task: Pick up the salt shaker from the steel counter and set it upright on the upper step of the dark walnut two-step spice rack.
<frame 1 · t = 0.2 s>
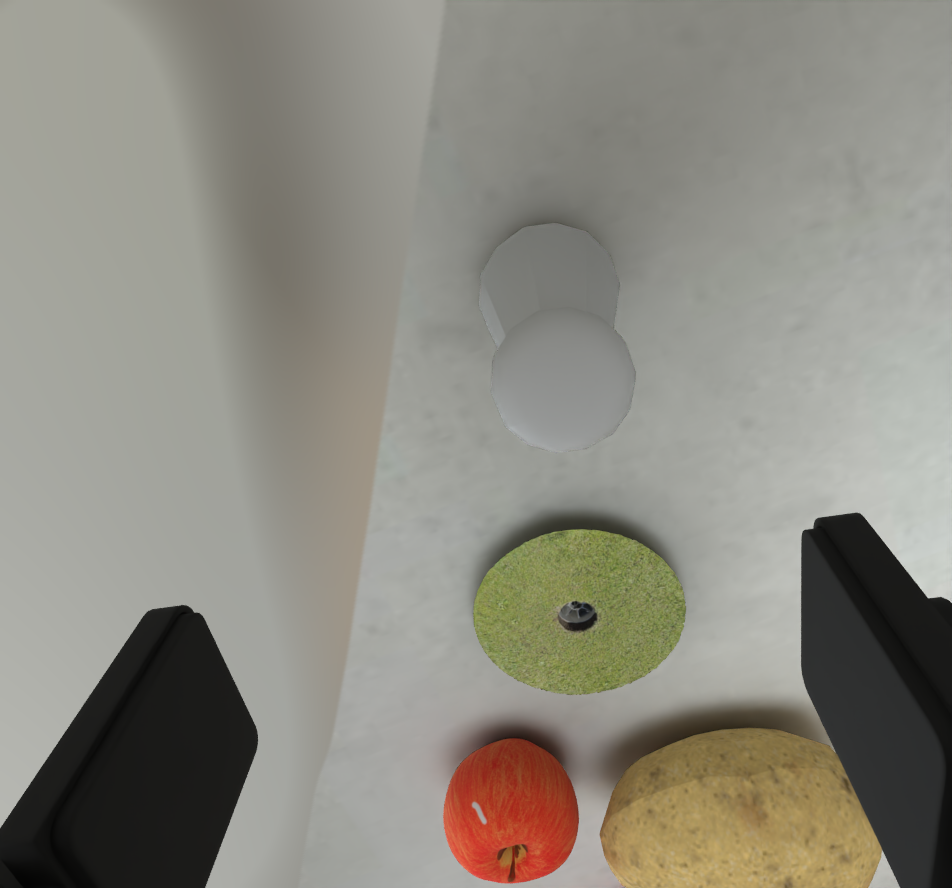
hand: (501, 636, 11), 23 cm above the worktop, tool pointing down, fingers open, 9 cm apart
apple: (511, 756, 47), on the worktop
mat: (575, 592, 40), on the worktop
potato: (713, 746, 45), on the worktop
salt shaker: (545, 278, 32), on the worktop
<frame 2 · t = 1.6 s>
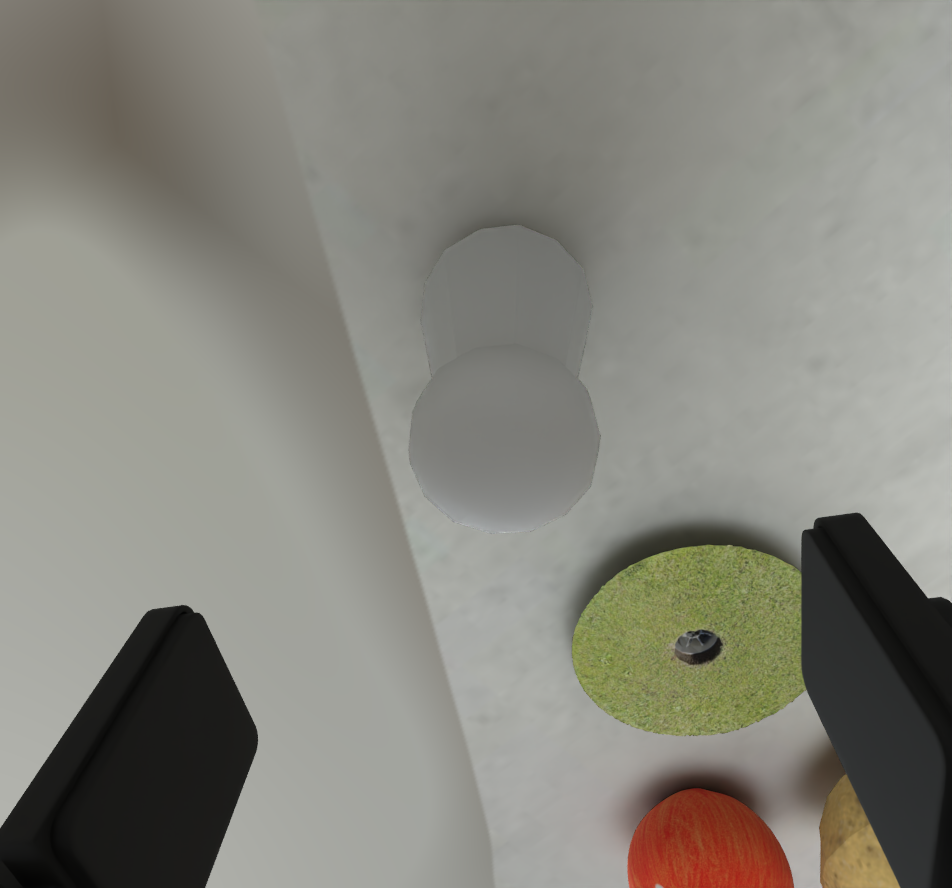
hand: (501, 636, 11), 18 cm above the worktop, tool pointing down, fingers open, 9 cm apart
apple: (691, 807, 40), on the worktop
mat: (689, 617, 34), on the worktop
potato: (929, 737, 37), on the worktop
salt shaker: (506, 291, 27), on the worktop
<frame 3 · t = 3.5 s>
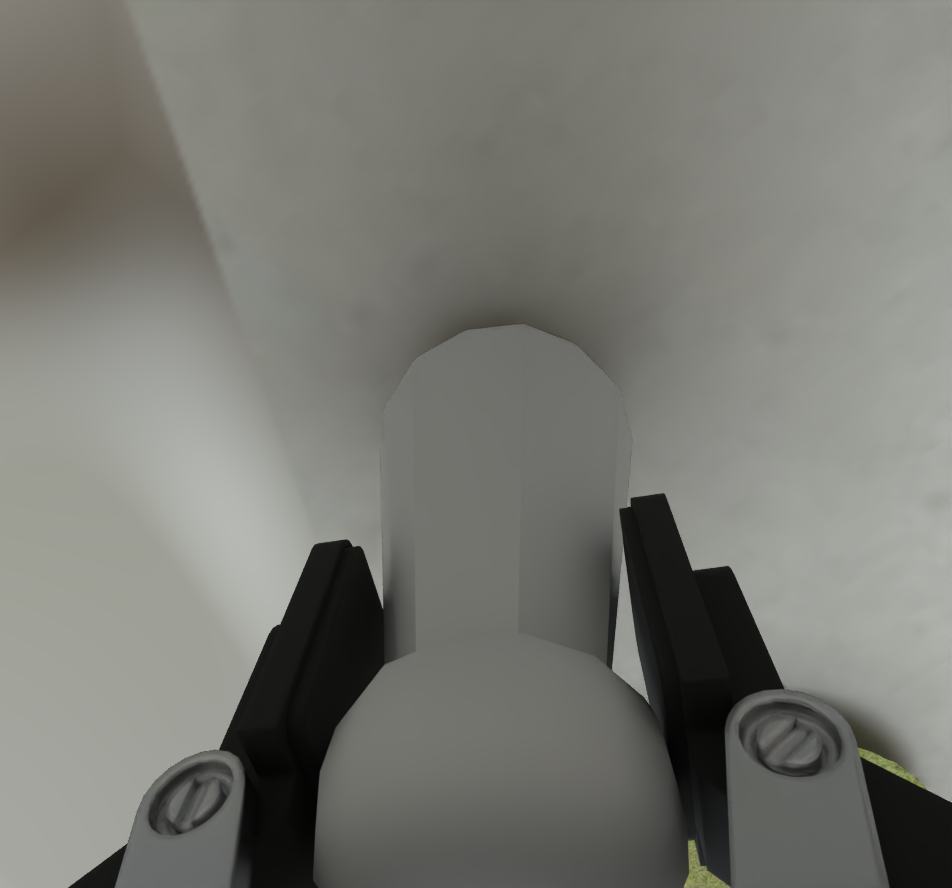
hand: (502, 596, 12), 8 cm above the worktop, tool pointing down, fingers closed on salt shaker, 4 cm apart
mat: (744, 800, 26), on the worktop
salt shaker: (505, 402, 19), on the worktop, touching gripper
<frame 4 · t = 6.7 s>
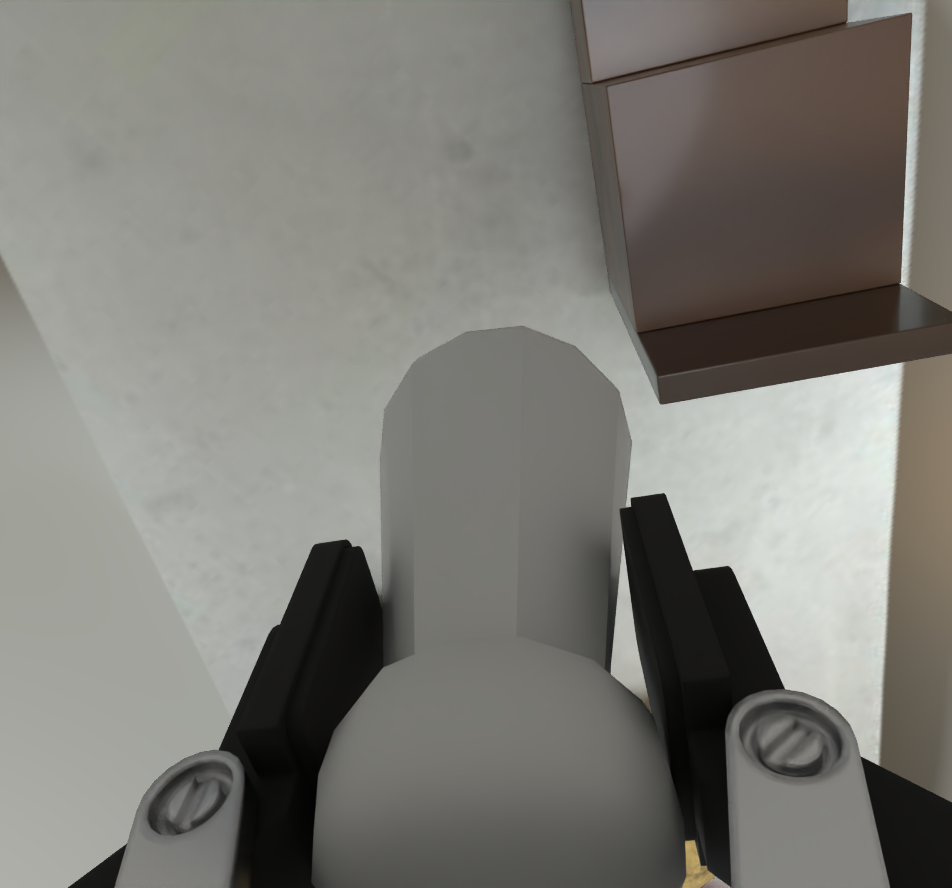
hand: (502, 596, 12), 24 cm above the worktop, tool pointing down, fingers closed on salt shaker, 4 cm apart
potato: (597, 749, 48), on the worktop
salt shaker: (505, 403, 19), point 16 cm above the worktop, touching gripper
spice rack: (689, 57, 29), on the worktop
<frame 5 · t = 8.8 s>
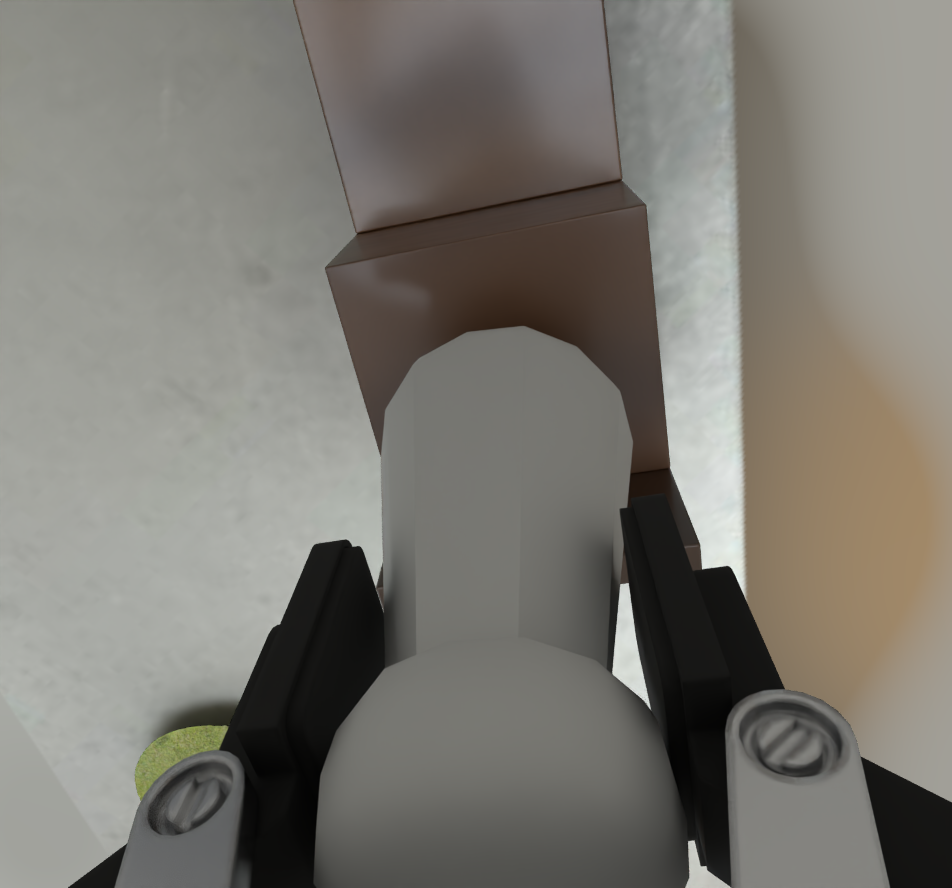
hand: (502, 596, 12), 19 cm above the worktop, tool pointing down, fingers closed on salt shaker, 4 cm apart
mat: (244, 764, 43), on the worktop
salt shaker: (506, 403, 19), point 11 cm above the worktop, touching gripper
spice rack: (489, 188, 27), on the worktop
when the fingers open (17 cm above the worktop, at t = 9.9 s): salt shaker stays where it is, resting on spice rack.
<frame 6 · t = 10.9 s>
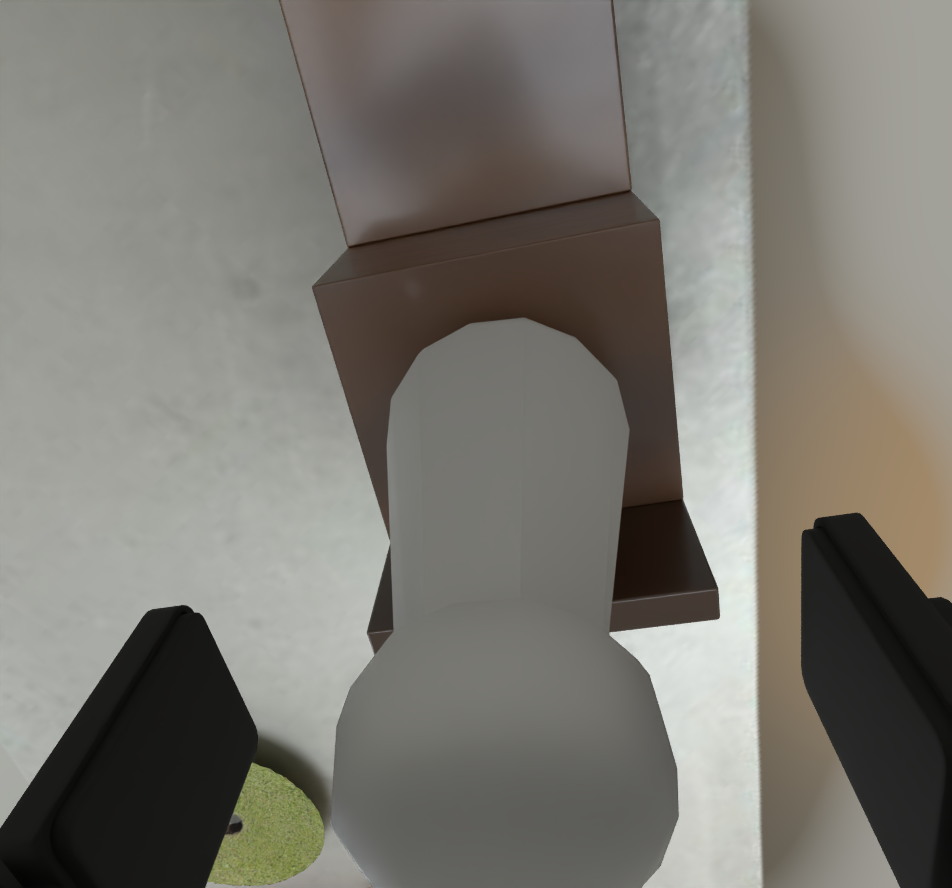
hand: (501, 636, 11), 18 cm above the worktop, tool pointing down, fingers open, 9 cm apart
mat: (236, 791, 42), on the worktop
salt shaker: (507, 394, 20), point 9 cm above the worktop, touching spice rack
spice rack: (490, 197, 26), on the worktop
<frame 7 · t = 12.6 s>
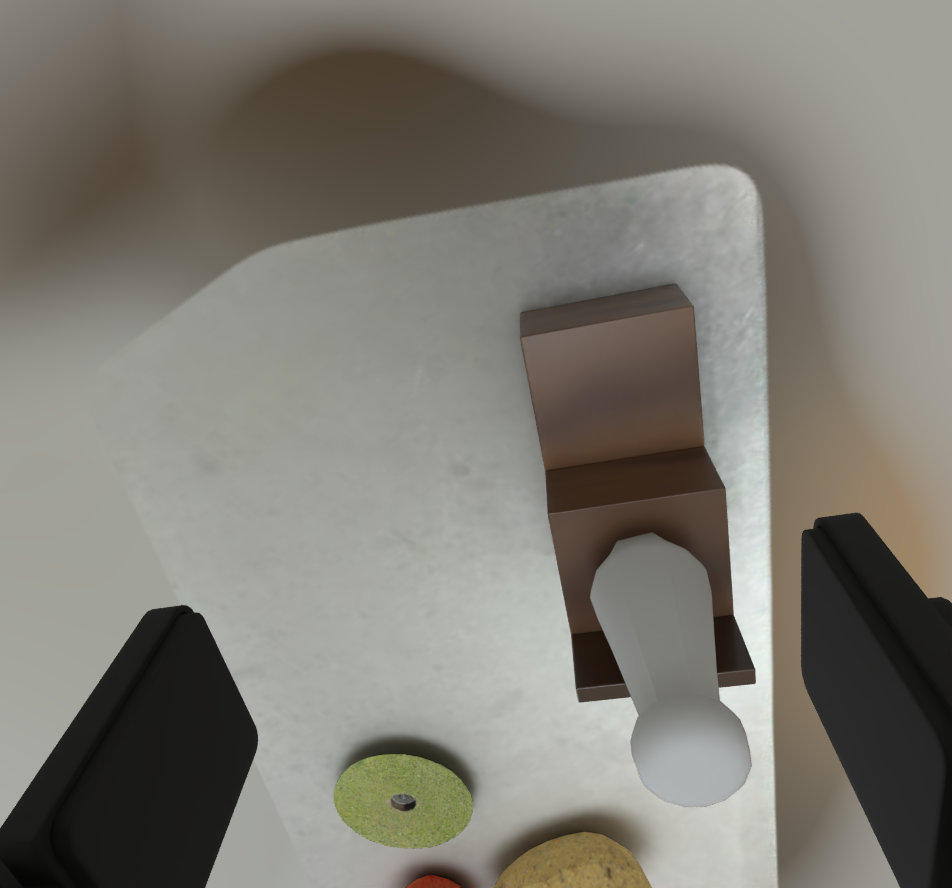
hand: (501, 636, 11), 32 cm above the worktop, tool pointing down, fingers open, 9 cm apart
apple: (435, 885, 66), on the worktop
mat: (406, 781, 60), on the worktop
potato: (561, 847, 62), on the worktop
salt shaker: (642, 562, 38), point 9 cm above the worktop, touching spice rack
spice rack: (614, 424, 44), on the worktop
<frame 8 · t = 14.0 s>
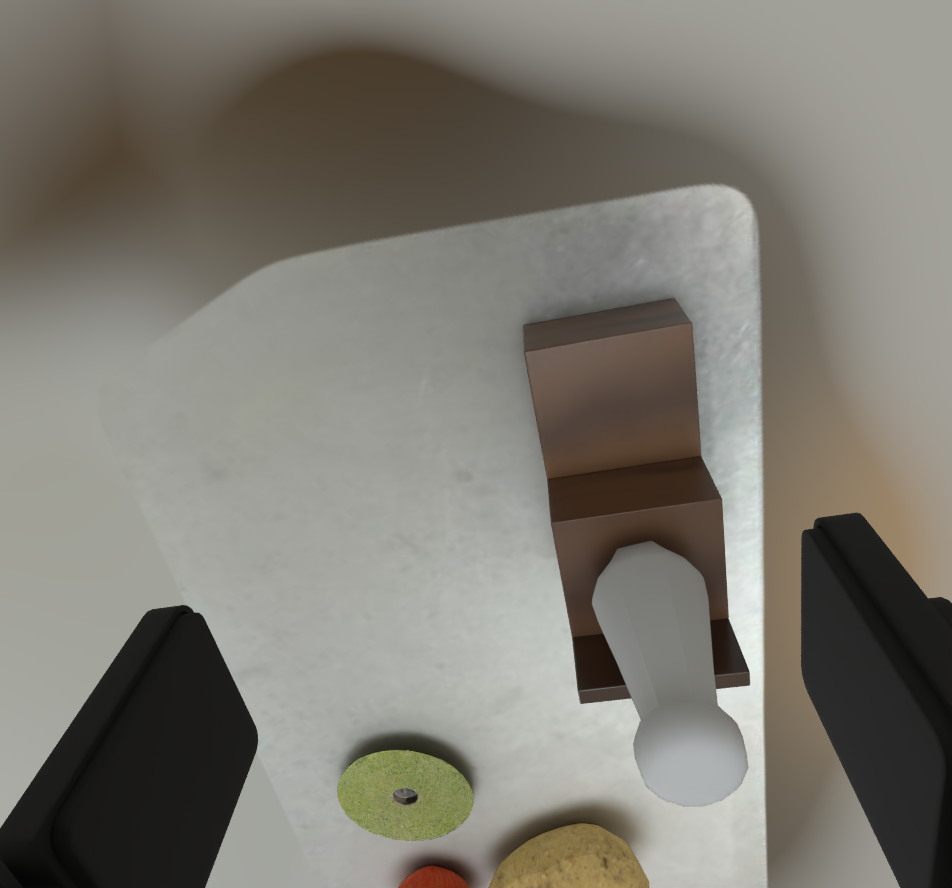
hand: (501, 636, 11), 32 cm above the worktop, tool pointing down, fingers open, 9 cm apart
apple: (435, 875, 67), on the worktop
mat: (408, 775, 61), on the worktop
potato: (558, 838, 64), on the worktop
salt shaker: (641, 569, 39), point 9 cm above the worktop, touching spice rack
spice rack: (613, 433, 45), on the worktop
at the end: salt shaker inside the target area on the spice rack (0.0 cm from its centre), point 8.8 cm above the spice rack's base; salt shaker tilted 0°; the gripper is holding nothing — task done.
